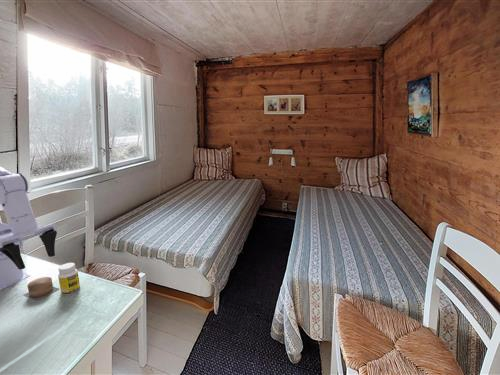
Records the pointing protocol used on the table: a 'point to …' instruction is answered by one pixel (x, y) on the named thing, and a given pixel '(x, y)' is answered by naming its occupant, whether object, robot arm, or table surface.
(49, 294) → the mat
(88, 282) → the table surface
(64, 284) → the supplement bottle
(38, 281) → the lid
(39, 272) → the table surface
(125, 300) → the table surface
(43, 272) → the table surface
